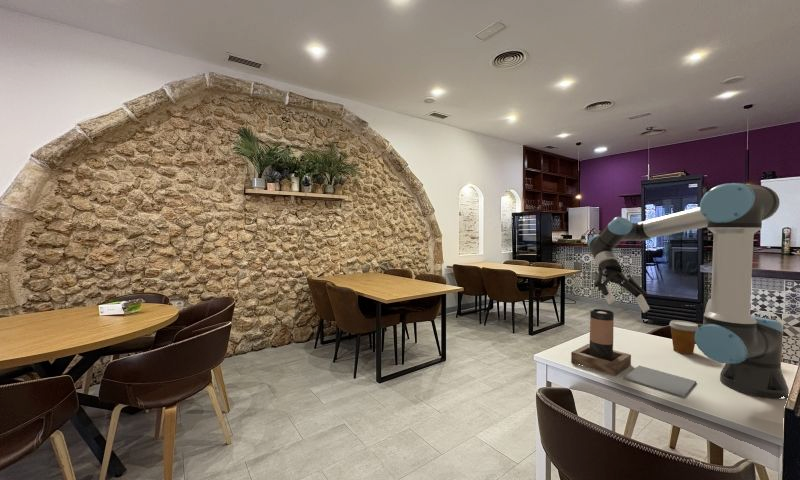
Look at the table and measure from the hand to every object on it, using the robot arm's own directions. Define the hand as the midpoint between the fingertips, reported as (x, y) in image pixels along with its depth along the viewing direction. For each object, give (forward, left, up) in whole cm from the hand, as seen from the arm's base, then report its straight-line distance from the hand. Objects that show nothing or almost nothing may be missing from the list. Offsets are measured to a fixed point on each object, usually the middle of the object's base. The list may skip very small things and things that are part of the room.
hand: (629, 306), depth 120 cm
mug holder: (+8, +2, -23) cm, 25 cm away
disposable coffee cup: (-8, -39, -23) cm, 46 cm away
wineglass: (-16, -54, -23) cm, 61 cm away
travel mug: (+8, +2, -23) cm, 25 cm away
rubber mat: (-10, +2, -23) cm, 25 cm away
